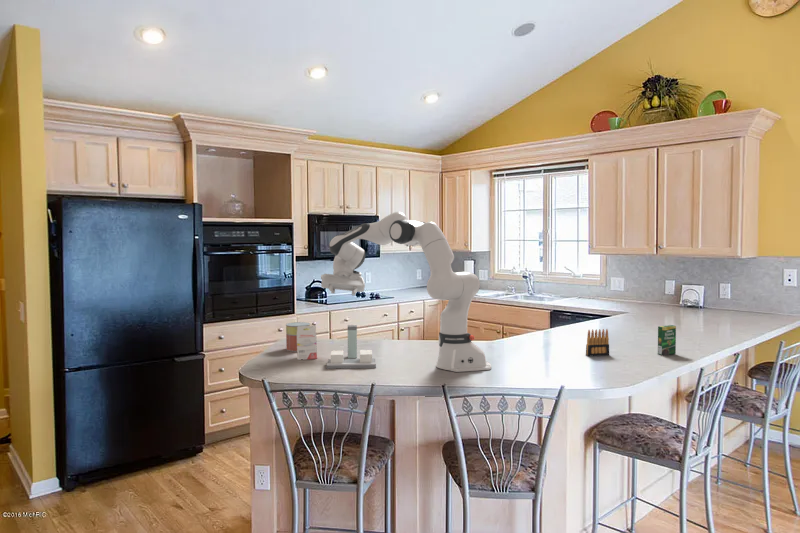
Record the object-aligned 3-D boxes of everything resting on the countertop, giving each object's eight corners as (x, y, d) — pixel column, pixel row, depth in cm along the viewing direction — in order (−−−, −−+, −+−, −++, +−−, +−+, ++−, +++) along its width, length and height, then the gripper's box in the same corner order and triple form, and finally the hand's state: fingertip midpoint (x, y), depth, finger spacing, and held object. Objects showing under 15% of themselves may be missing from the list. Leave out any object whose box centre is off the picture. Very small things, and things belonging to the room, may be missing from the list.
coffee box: (661, 355, 256) (662, 326, 255) (656, 354, 259) (657, 325, 258) (676, 354, 258) (676, 325, 258) (671, 353, 261) (672, 324, 260)
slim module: (357, 356, 256) (356, 325, 255) (356, 357, 252) (356, 326, 251) (348, 356, 256) (347, 325, 255) (347, 358, 252) (347, 326, 251)
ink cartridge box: (316, 356, 255) (316, 323, 254) (316, 359, 250) (316, 325, 249) (296, 357, 253) (296, 324, 252) (297, 359, 248) (296, 326, 247)
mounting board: (375, 361, 245) (375, 349, 245) (375, 367, 234) (375, 355, 233) (328, 361, 244) (328, 349, 244) (326, 368, 232) (326, 356, 232)
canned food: (312, 346, 276) (312, 322, 275) (306, 351, 265) (306, 326, 264) (290, 346, 277) (289, 322, 277) (283, 351, 266) (282, 325, 265)
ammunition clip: (587, 356, 255) (588, 329, 254) (585, 355, 256) (586, 329, 256) (609, 355, 257) (610, 329, 256) (607, 354, 259) (607, 328, 258)
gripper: (321, 268, 269) (321, 285, 258) (364, 272, 273) (366, 290, 262) (320, 279, 272) (319, 296, 261) (362, 283, 277) (363, 300, 265)
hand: (343, 293), depth 261 cm, fingers open, 8 cm apart
